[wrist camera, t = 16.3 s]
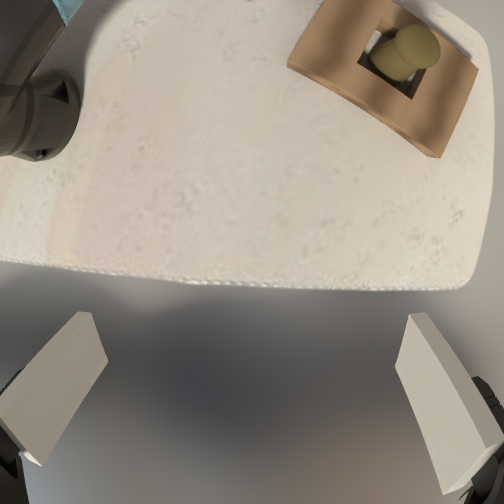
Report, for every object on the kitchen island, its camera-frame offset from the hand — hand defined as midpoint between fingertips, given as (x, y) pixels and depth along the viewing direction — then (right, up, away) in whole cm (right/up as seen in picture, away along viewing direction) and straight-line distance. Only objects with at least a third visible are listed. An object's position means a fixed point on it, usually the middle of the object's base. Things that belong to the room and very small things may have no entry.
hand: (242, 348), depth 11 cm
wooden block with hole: (+18, +28, +19) cm, 38 cm away
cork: (+18, +28, +19) cm, 39 cm away
